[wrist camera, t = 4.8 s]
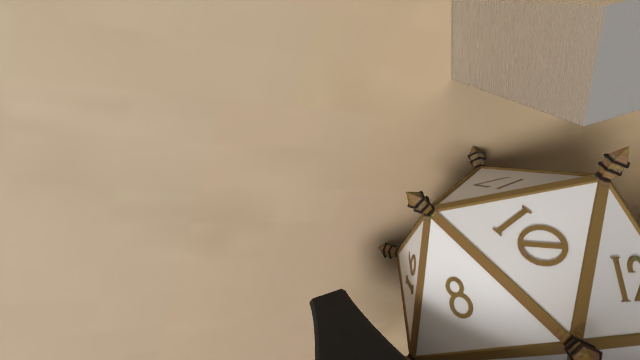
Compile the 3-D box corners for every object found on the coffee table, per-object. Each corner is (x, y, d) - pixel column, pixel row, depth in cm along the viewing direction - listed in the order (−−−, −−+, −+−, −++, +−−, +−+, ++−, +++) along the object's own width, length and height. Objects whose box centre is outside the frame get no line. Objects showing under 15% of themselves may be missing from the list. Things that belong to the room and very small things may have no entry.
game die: (407, 210, 19) (457, 445, 15) (307, 147, 13) (341, 528, 8) (615, 145, 15) (776, 452, 10) (621, 0, 8) (1052, 640, 4)
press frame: (619, 349, 24) (709, 426, 20) (450, 417, 22) (508, 520, 18) (766, -70, 13) (1043, -100, 9) (452, 0, 11) (605, 6, 7)
